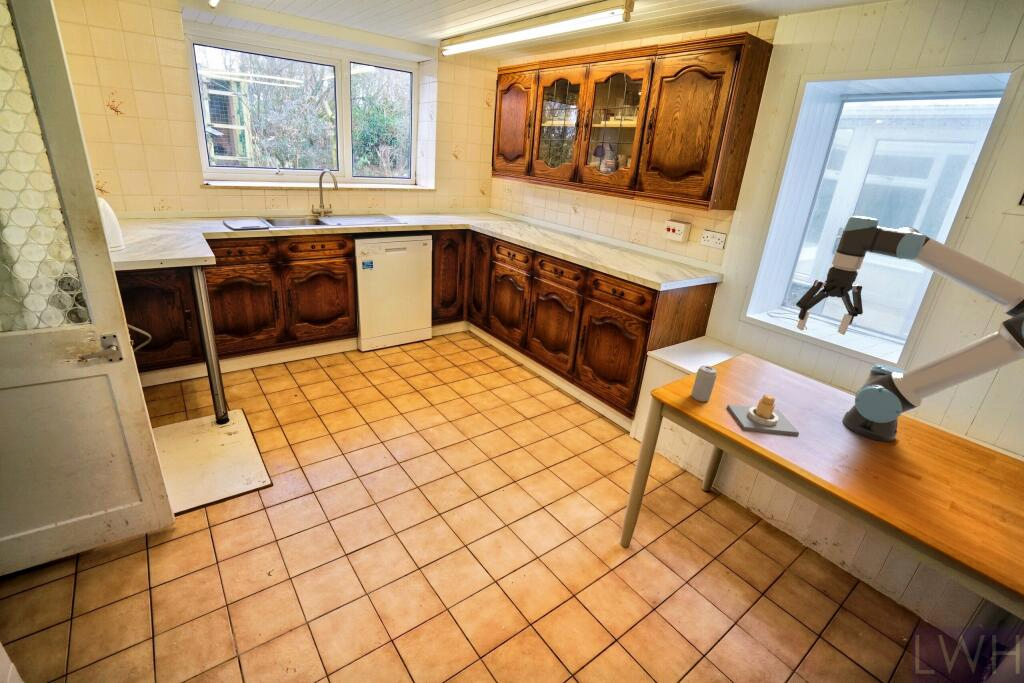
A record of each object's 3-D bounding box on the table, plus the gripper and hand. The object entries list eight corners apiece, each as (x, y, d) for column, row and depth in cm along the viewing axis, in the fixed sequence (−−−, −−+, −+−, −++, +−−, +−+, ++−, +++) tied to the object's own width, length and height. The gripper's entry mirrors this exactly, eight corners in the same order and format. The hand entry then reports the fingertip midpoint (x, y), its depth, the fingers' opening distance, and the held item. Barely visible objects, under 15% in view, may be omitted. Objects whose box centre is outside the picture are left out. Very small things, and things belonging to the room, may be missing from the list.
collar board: (777, 412, 168) (780, 405, 167) (798, 435, 155) (800, 428, 154) (727, 407, 168) (729, 400, 167) (743, 429, 155) (746, 422, 154)
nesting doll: (765, 414, 163) (772, 394, 160) (772, 422, 159) (779, 401, 156) (751, 413, 163) (758, 393, 160) (757, 421, 159) (765, 400, 156)
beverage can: (710, 397, 173) (719, 368, 169) (706, 404, 168) (716, 374, 164) (693, 391, 176) (701, 362, 172) (688, 398, 171) (697, 368, 167)
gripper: (876, 268, 151) (851, 330, 159) (798, 260, 150) (777, 323, 159) (893, 275, 144) (865, 339, 152) (811, 266, 144) (788, 331, 152)
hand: (820, 331), depth 156 cm, fingers open, 13 cm apart
